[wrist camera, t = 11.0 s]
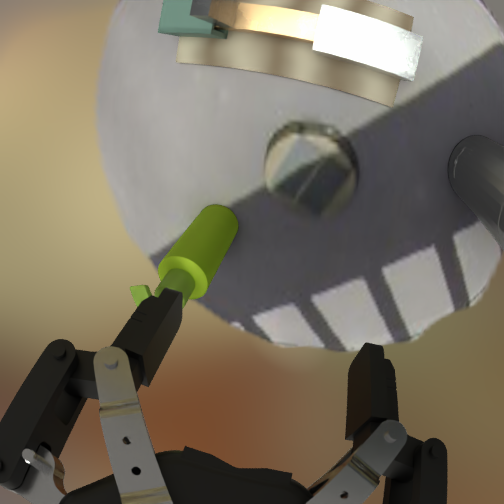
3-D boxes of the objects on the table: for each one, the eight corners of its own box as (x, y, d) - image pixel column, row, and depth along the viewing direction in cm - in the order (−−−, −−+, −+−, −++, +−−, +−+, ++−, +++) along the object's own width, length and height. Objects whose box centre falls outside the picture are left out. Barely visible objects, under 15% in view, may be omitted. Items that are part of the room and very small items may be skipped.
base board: (411, 18, 23) (413, 17, 22) (390, 106, 30) (392, 107, 29) (194, -21, 25) (191, -23, 24) (179, 62, 32) (175, 62, 31)
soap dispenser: (227, 193, 41) (159, 286, 24) (244, 237, 44) (193, 344, 27) (190, 202, 43) (111, 291, 26) (207, 244, 46) (146, 343, 29)
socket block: (234, 2, 26) (219, -9, 21) (226, 39, 29) (210, 33, 24) (186, 0, 26) (165, -8, 22) (179, 36, 29) (157, 32, 25)
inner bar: (361, 31, 24) (378, 12, 15) (356, 55, 26) (371, 45, 17) (199, 5, 26) (153, -14, 17) (194, 28, 27) (147, 16, 19)
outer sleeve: (408, 42, 24) (423, 37, 20) (399, 80, 27) (413, 81, 23) (322, 15, 25) (322, 4, 21) (313, 53, 28) (312, 49, 23)
